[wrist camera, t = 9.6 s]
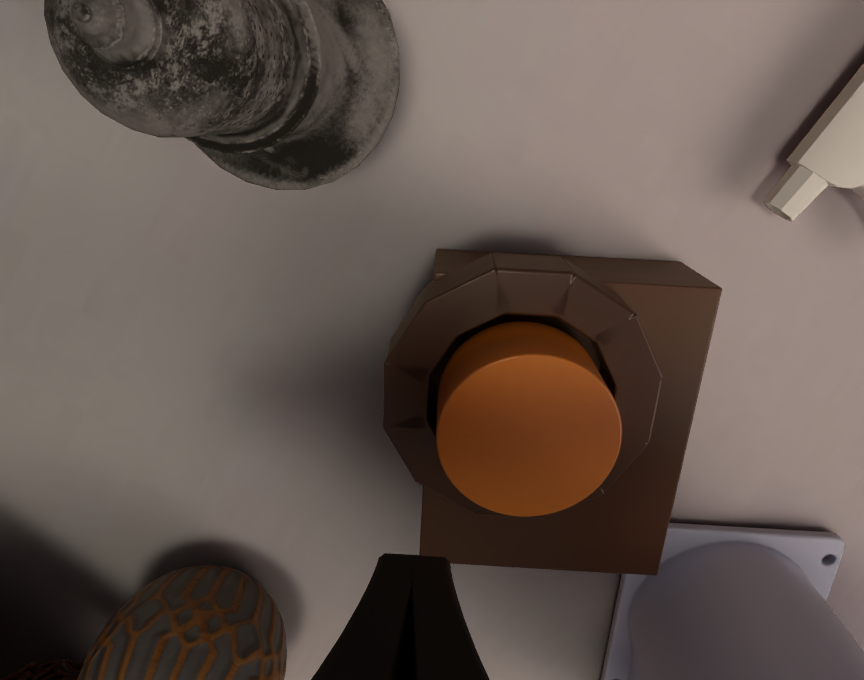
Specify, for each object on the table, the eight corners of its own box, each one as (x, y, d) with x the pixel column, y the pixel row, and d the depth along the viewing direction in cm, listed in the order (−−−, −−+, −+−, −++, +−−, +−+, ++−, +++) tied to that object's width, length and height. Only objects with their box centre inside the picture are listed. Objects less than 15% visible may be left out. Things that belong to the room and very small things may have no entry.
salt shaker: (279, -88, 16) (-87, -518, 5) (449, 53, 18) (447, -53, 6) (178, 97, 18) (-259, 69, 7) (338, 215, 19) (183, 354, 8)
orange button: (587, 470, 17) (607, 523, 15) (434, 461, 17) (431, 512, 15) (611, 325, 16) (637, 359, 13) (442, 315, 16) (440, 348, 13)
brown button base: (630, 516, 23) (676, 618, 18) (393, 502, 23) (378, 600, 19) (685, 241, 19) (760, 282, 15) (402, 226, 19) (386, 262, 15)
